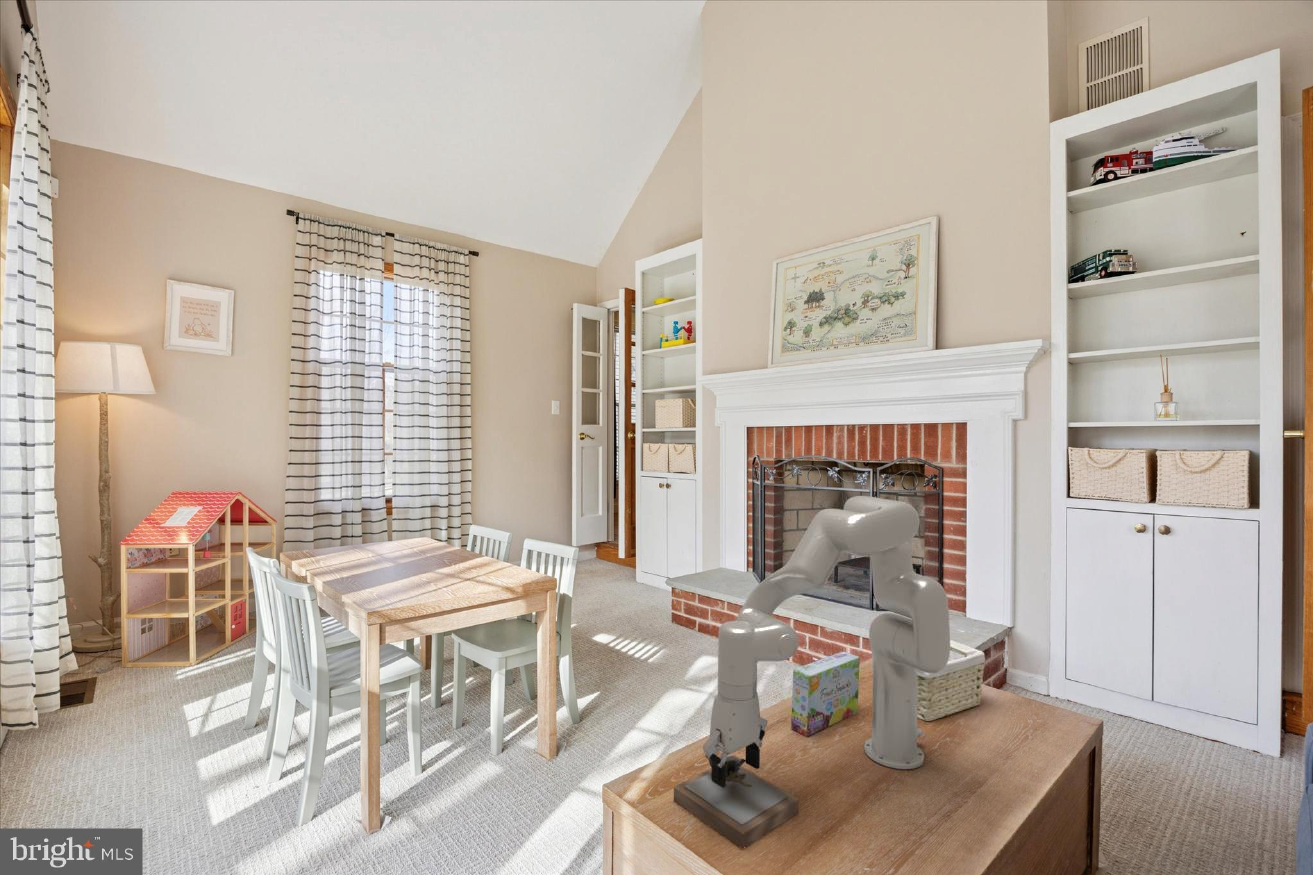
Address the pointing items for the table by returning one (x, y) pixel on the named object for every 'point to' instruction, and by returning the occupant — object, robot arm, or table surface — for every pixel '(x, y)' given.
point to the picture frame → (737, 805)
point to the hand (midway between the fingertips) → (735, 774)
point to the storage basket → (951, 684)
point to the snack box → (825, 692)
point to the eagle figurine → (734, 770)
